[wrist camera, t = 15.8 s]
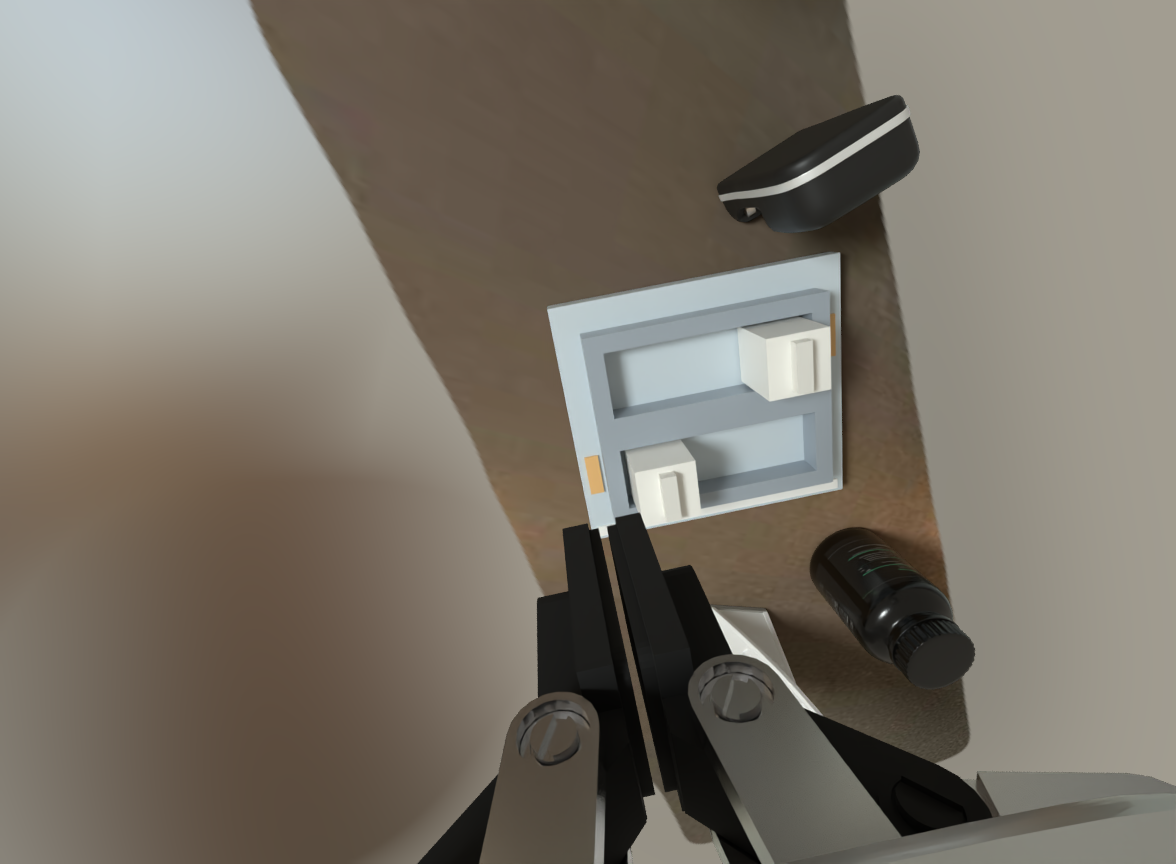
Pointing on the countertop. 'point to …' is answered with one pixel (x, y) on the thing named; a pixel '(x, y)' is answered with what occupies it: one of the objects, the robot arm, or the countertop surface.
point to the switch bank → (699, 387)
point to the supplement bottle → (891, 608)
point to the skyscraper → (758, 643)
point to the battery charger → (825, 169)
